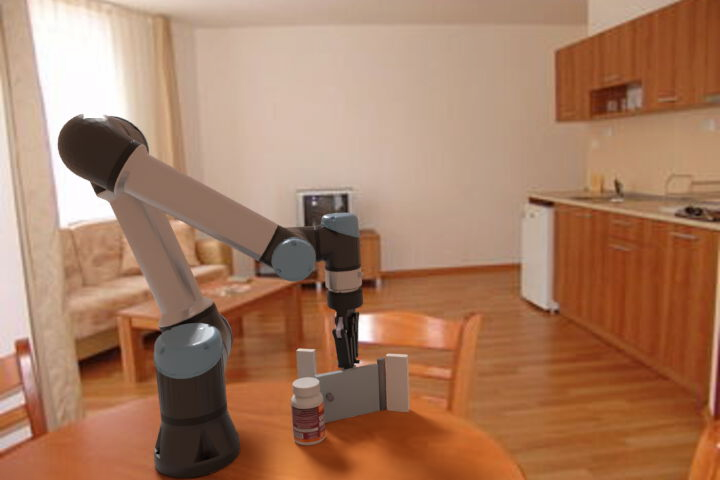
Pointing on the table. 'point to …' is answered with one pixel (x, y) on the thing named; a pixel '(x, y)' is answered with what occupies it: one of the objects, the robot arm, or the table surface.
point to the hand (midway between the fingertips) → (350, 394)
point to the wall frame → (394, 374)
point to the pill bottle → (307, 412)
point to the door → (354, 391)
